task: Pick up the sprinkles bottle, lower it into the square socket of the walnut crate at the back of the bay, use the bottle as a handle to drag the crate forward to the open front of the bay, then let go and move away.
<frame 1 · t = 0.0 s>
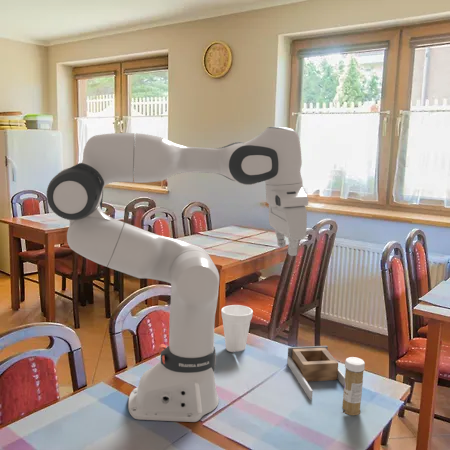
hand: (286, 250, 119), 39 cm above the table, tool pointing down, fingers open, 8 cm apart
crate: (314, 364, 137), point 3 cm above the table, slide at 8.5 cm
cup: (235, 350, 153), on the table
sprinkles bottle: (351, 412, 120), on the table
bay: (318, 382, 134), on the table
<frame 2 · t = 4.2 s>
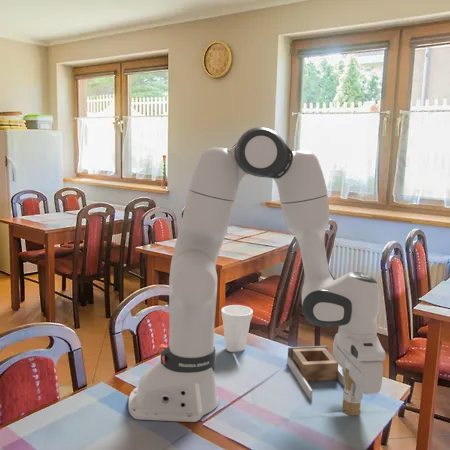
hand: (352, 392, 119), 5 cm above the table, tool pointing down, fingers closed on sprinkles bottle, 4 cm apart
sprinkles bottle: (351, 412, 120), on the table, touching gripper
everything else where it was.
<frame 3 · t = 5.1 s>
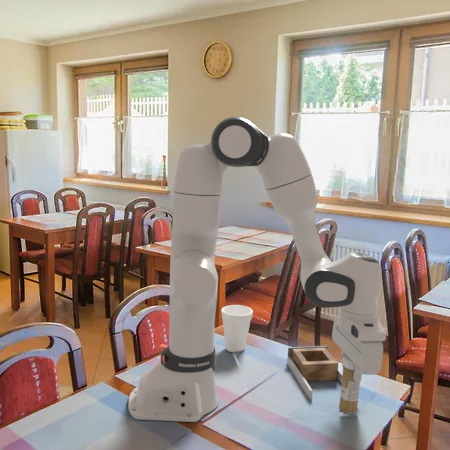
hand: (351, 374, 118), 10 cm above the table, tool pointing down, fingers closed on sprinkles bottle, 4 cm apart
sprinkles bottle: (348, 410, 119), on the table, touching gripper
everything else where it was.
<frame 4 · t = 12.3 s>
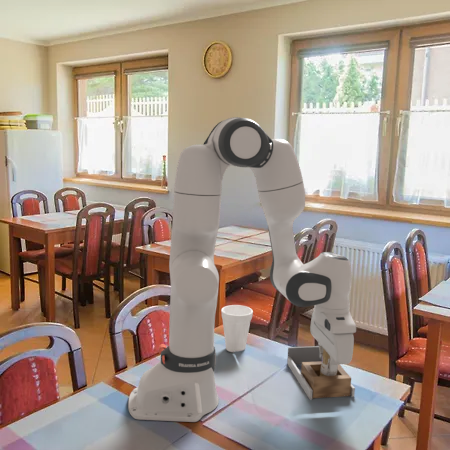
hand: (327, 364, 127), 8 cm above the table, tool pointing down, fingers closed on sprinkles bottle, 5 cm apart
crate: (325, 378, 129), point 3 cm above the table, slide at -0.1 cm, touching sprinkles bottle
sprinkles bottle: (327, 383, 129), point 2 cm above the table, touching crate, gripper
everything else where it was.
when the fingers open (8 cm above the table, at t = 13.3 s): sprinkles bottle stays where it is, resting on crate.
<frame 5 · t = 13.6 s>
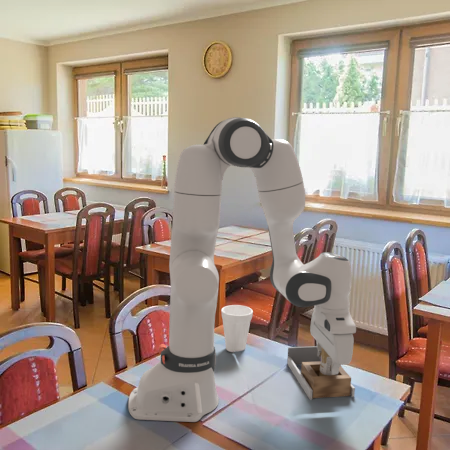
hand: (327, 365, 127), 8 cm above the table, tool pointing down, fingers open, 8 cm apart
sprinkles bottle: (327, 384, 129), point 2 cm above the table, touching crate
everything else where it was.
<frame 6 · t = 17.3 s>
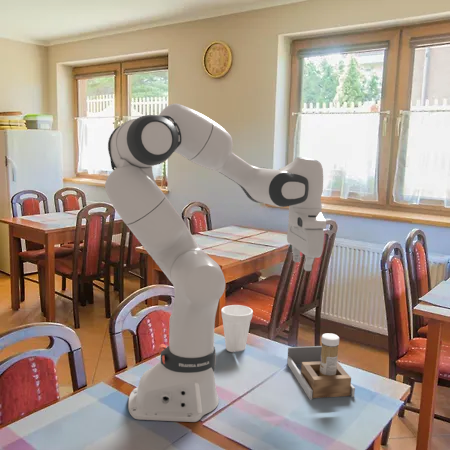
hand: (301, 265, 135), 31 cm above the table, tool pointing down, fingers open, 8 cm apart
nothing on the table moved.
at the end: crate slide at 0.0 cm; sprinkles bottle 0.7 cm off-centre on the crate, point 0.8 cm above the crate's base; the gripper is holding nothing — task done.
